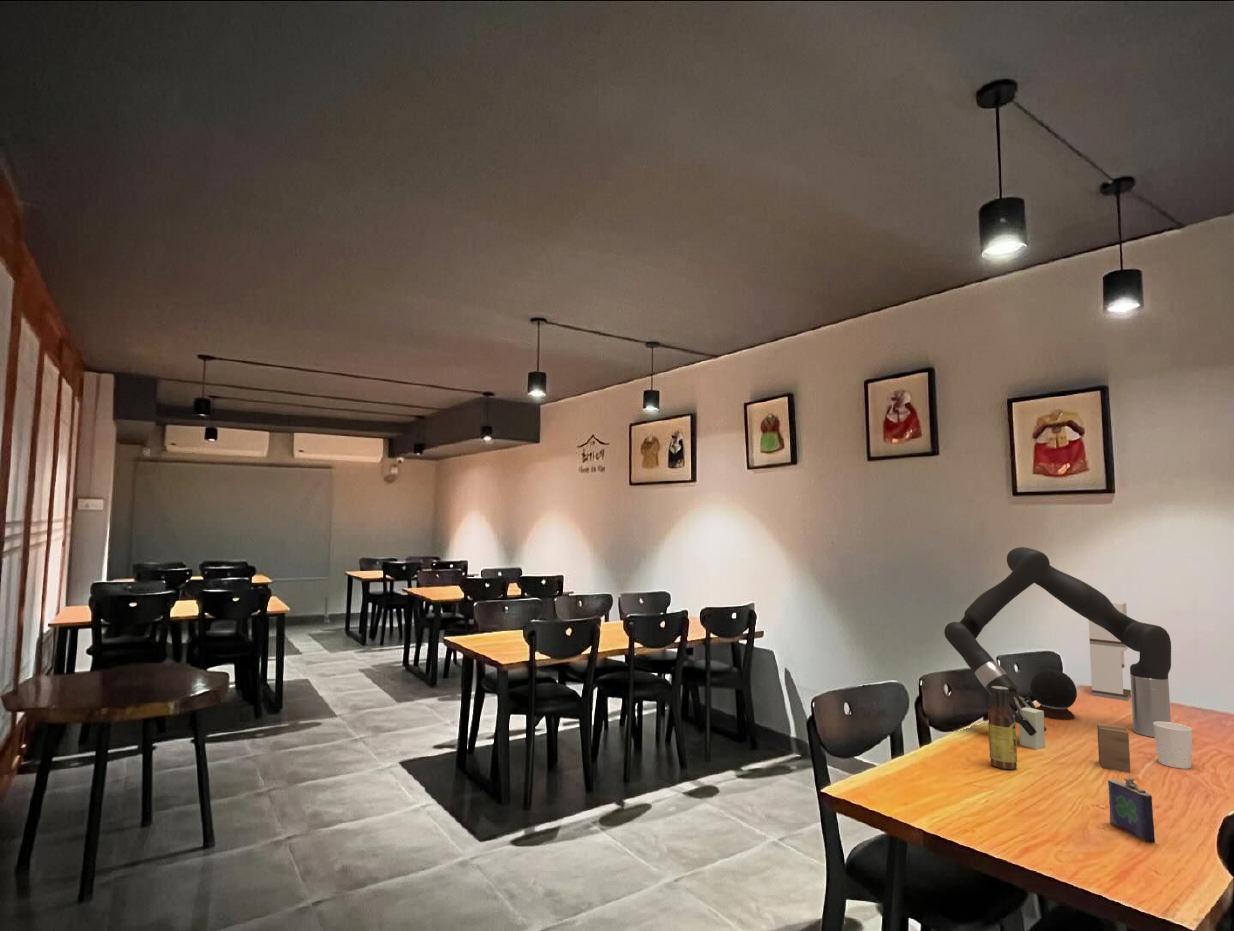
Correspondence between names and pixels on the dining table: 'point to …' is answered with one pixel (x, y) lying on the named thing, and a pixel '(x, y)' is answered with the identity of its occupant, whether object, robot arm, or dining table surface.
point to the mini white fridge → (1107, 661)
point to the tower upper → (1113, 737)
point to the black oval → (1054, 693)
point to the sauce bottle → (1002, 730)
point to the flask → (1131, 809)
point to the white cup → (1173, 744)
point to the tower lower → (1114, 760)
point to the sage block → (1037, 722)
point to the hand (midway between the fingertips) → (1038, 732)
